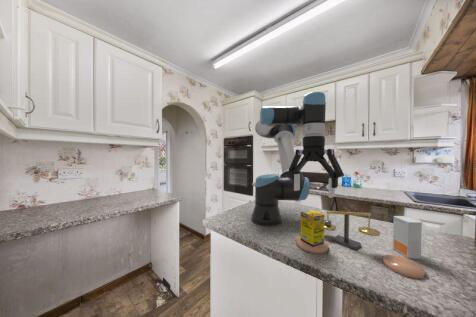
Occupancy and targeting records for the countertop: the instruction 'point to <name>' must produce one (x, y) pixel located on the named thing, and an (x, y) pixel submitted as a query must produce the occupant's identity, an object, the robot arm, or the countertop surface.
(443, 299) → the countertop surface
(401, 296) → the countertop surface
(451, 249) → the countertop surface
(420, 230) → the skincare box
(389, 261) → the glossy peach dome
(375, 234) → the balance
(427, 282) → the countertop surface
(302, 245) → the peach round dome
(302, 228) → the supplement box
